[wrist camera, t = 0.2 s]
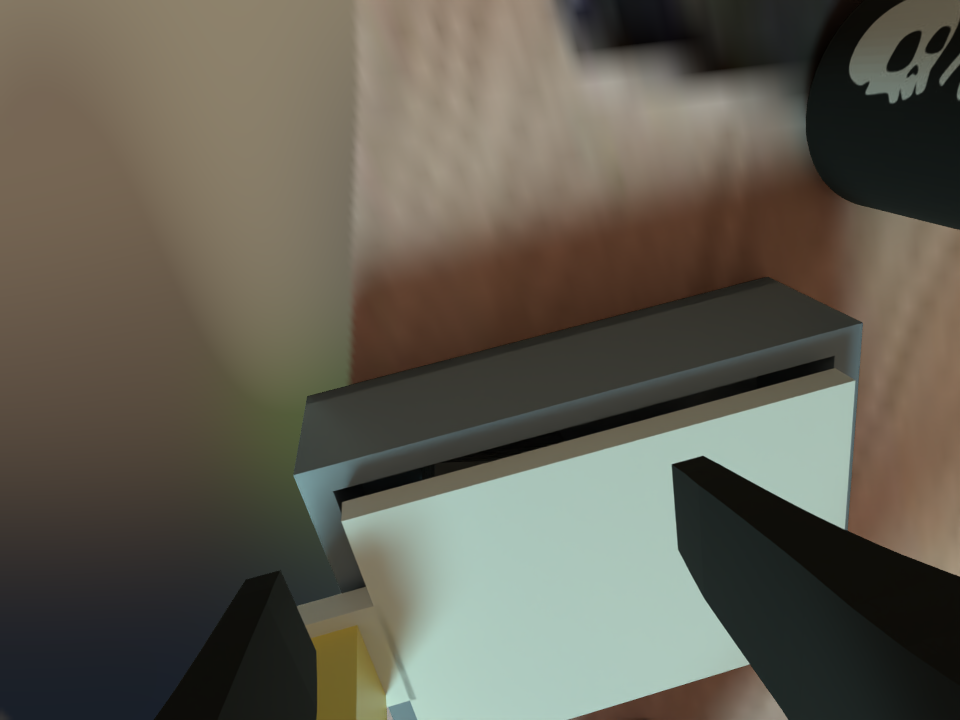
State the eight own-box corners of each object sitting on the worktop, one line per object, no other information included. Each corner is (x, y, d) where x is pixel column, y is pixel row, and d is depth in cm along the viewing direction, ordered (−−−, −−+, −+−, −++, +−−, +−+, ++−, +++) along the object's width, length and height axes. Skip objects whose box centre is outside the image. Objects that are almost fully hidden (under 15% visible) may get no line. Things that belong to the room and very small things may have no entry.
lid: (821, 619, 22) (923, 739, 18) (353, 760, 21) (351, 922, 17) (835, 368, 17) (974, 453, 13) (244, 528, 16) (205, 673, 12)
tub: (767, 541, 26) (840, 624, 22) (400, 648, 25) (408, 755, 21) (767, 276, 21) (863, 323, 17) (307, 396, 20) (293, 475, 16)
